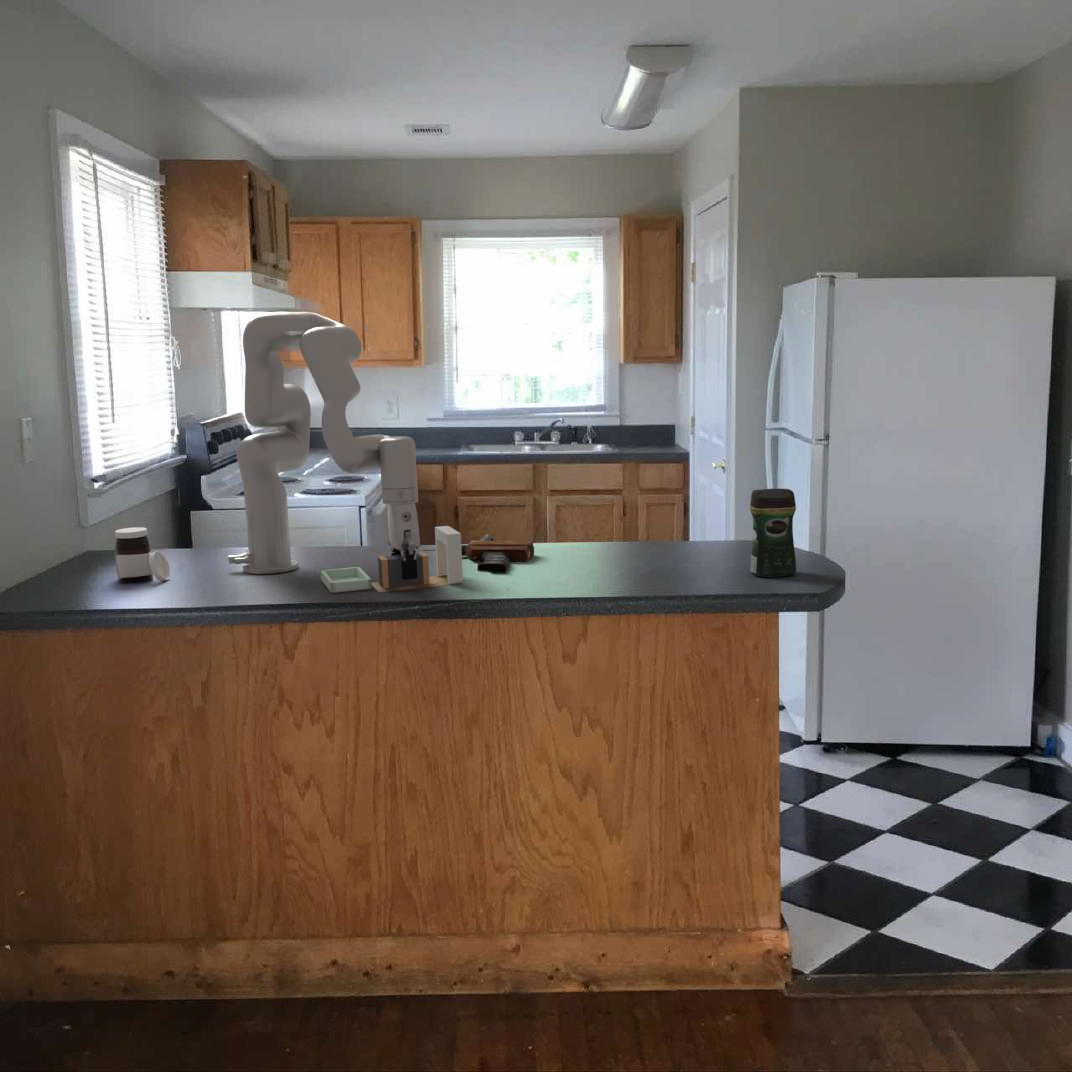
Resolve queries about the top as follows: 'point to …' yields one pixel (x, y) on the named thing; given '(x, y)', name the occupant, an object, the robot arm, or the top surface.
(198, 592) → the top surface
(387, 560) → the block
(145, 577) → the spread jar
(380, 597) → the top surface
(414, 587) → the holder
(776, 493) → the coffee jar
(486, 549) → the tool
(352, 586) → the tray
